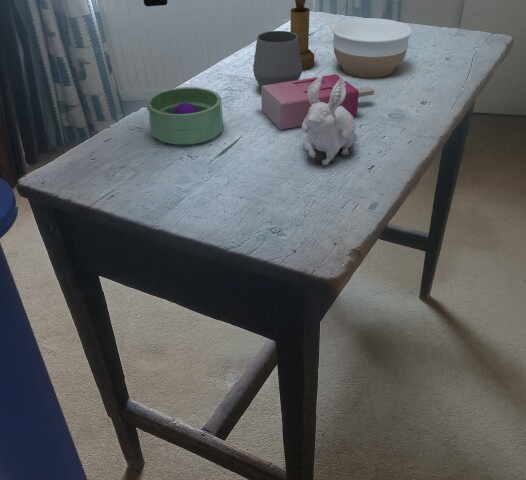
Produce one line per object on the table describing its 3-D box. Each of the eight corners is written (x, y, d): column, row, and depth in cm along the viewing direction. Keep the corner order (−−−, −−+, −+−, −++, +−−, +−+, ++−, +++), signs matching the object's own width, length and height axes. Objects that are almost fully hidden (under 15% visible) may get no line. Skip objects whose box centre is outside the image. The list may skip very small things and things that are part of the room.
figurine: (288, 166, 91) (289, 84, 83) (320, 128, 101) (323, 52, 93) (338, 175, 88) (344, 92, 80) (365, 135, 99) (373, 58, 91)
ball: (177, 136, 99) (174, 111, 96) (172, 125, 102) (169, 100, 99) (202, 132, 100) (200, 107, 97) (196, 121, 103) (194, 97, 100)
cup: (294, 79, 120) (294, 27, 113) (307, 96, 113) (309, 41, 106) (248, 84, 118) (247, 31, 112) (259, 101, 111) (258, 46, 105)
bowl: (360, 51, 133) (363, 13, 128) (421, 67, 124) (427, 27, 119) (314, 69, 124) (316, 29, 119) (376, 87, 115) (381, 45, 110)
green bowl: (158, 152, 95) (154, 119, 92) (146, 123, 104) (141, 92, 101) (231, 141, 98) (229, 109, 95) (212, 113, 107) (210, 83, 103)
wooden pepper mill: (290, 72, 123) (292, -24, 112) (278, 63, 128) (278, -31, 116) (319, 67, 125) (323, -28, 113) (306, 58, 130) (309, -34, 118)
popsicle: (385, 85, 103) (280, 103, 98) (382, 112, 106) (280, 130, 101) (360, 69, 110) (261, 85, 104) (358, 94, 113) (261, 111, 107)
